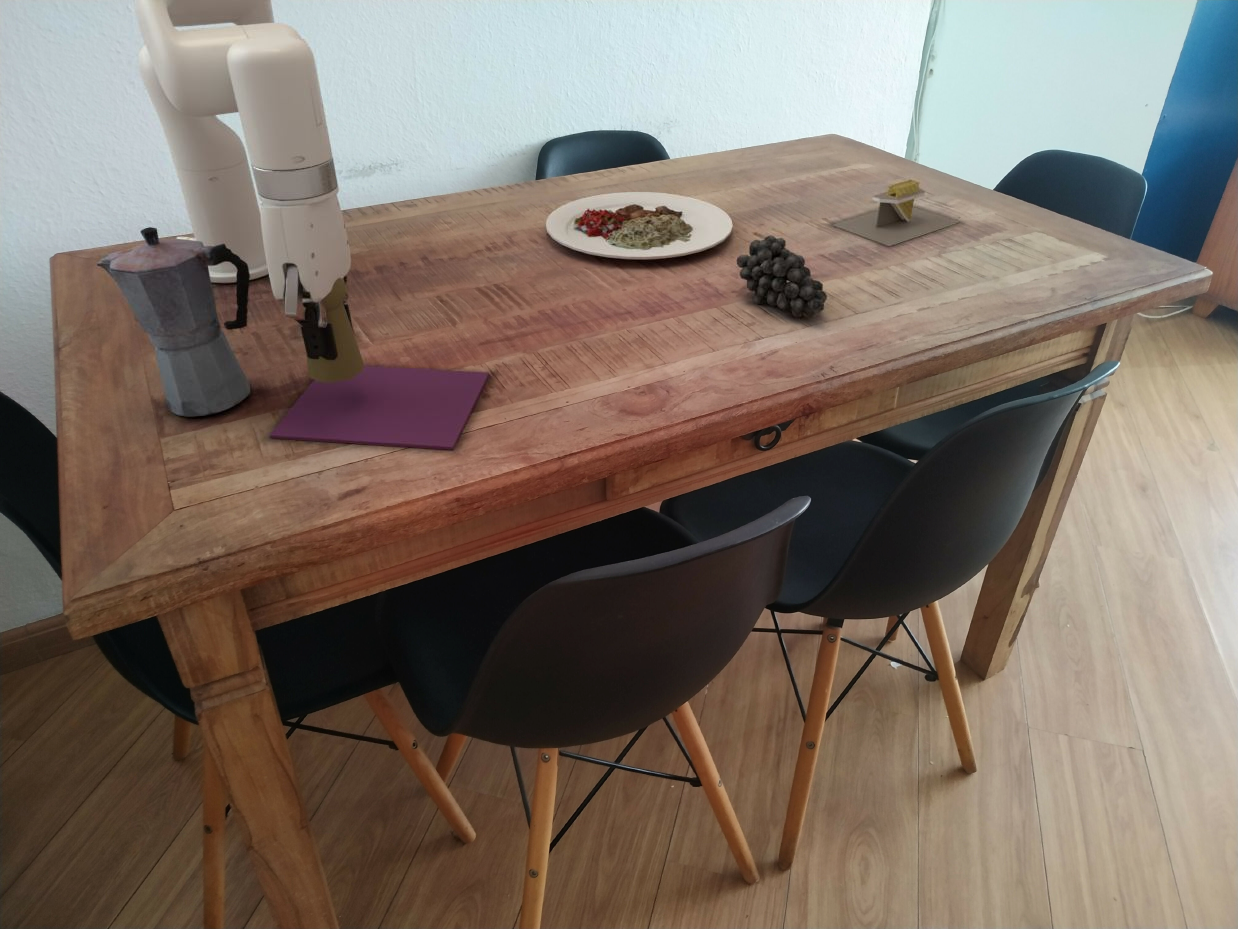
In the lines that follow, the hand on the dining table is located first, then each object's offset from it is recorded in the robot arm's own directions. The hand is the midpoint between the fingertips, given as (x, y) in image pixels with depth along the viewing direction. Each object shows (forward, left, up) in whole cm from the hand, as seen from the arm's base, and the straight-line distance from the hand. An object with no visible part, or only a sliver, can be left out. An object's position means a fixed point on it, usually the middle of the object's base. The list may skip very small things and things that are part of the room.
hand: (331, 346), depth 96 cm
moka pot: (-15, -1, -7) cm, 17 cm away
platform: (+70, +66, -7) cm, 96 cm away
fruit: (+50, +31, -7) cm, 59 cm away
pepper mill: (0, 0, -3) cm, 3 cm away
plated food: (+28, +57, -7) cm, 64 cm away
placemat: (+5, 0, -7) cm, 9 cm away
